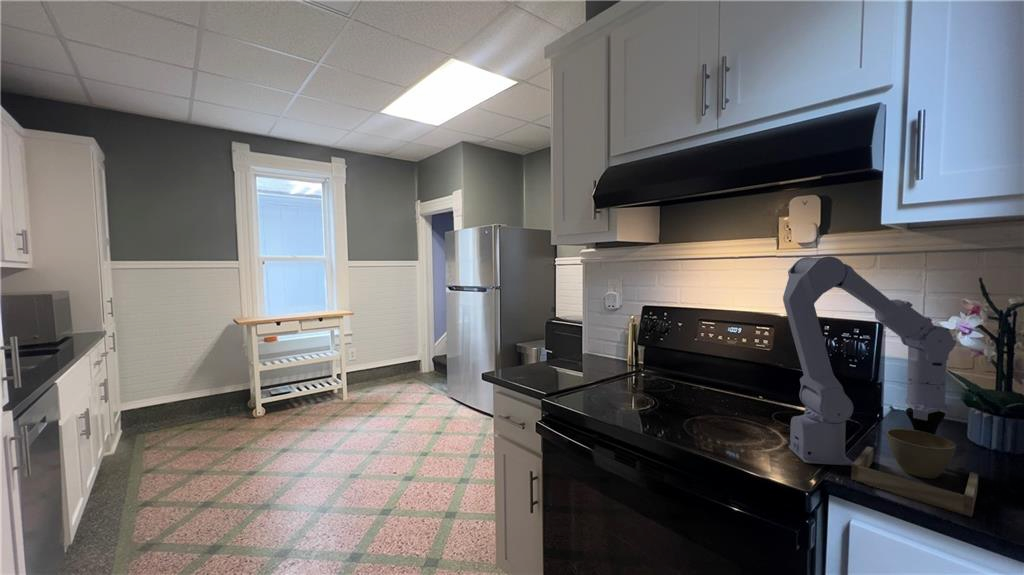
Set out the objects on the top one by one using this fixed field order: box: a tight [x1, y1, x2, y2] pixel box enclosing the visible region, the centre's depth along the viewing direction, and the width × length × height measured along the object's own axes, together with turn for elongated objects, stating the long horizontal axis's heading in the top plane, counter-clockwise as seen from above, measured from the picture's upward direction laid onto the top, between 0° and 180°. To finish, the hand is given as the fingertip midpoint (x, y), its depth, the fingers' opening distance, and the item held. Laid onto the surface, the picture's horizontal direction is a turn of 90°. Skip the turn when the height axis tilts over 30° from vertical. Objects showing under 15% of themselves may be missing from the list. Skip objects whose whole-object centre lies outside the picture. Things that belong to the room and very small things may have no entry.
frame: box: [850, 446, 979, 518], centre depth 80 cm, size 13×16×3 cm
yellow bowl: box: [886, 428, 957, 480], centre depth 84 cm, size 10×10×7 cm
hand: (924, 444), depth 88 cm, fingers closed
